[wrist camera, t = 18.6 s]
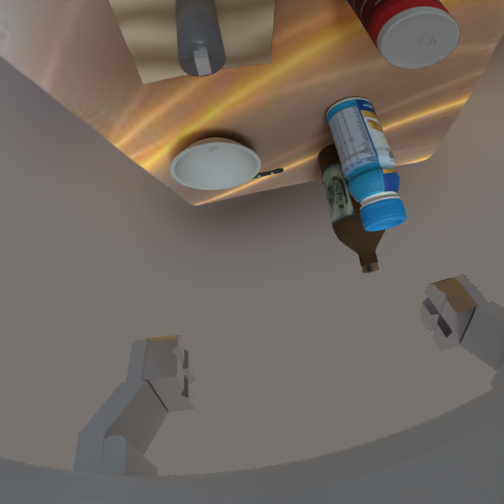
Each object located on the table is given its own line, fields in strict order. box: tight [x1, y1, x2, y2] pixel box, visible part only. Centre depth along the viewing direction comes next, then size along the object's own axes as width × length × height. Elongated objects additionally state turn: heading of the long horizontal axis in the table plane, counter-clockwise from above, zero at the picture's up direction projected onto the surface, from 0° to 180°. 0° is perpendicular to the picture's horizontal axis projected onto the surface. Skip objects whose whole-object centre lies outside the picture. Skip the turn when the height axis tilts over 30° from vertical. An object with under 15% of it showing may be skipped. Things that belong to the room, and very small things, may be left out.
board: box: [109, 0, 275, 85], centre depth 23 cm, size 20×15×2 cm
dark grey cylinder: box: [175, 0, 226, 76], centre depth 22 cm, size 4×4×9 cm
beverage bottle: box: [326, 97, 407, 231], centre depth 46 cm, size 8×8×20 cm
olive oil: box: [318, 144, 385, 273], centre depth 61 cm, size 11×11×25 cm
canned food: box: [347, 0, 460, 69], centre depth 21 cm, size 8×8×11 cm
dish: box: [170, 137, 261, 190], centre depth 52 cm, size 18×14×5 cm
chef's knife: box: [254, 169, 283, 178], centre depth 68 cm, size 19×1×3 cm
